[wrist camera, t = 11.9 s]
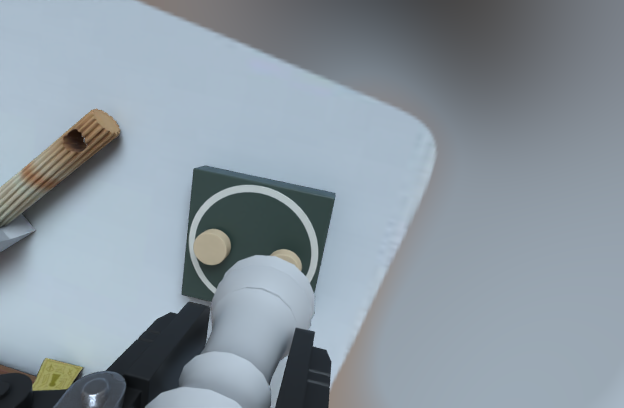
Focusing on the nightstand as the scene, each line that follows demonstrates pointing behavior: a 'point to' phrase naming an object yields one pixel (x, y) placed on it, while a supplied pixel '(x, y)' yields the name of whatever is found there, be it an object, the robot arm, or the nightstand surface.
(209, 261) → the eye pad
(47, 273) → the nightstand surface
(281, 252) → the eye pad
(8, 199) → the grey trowel
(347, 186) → the nightstand surface
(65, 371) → the book
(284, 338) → the rook chess piece
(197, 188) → the green square board
